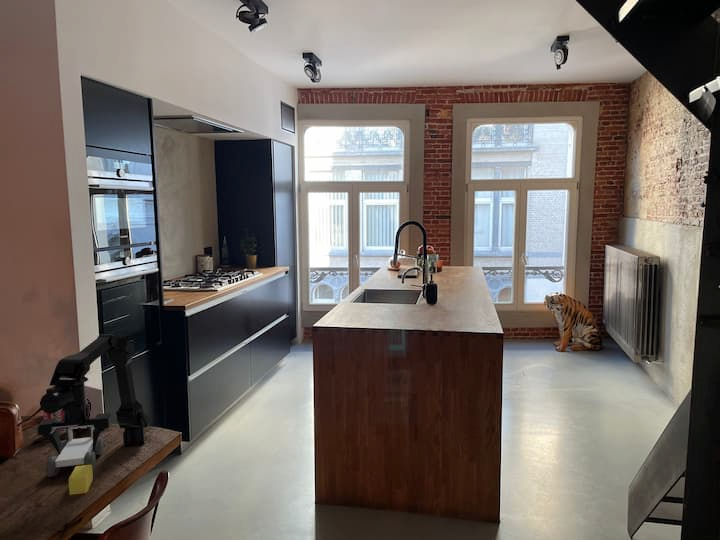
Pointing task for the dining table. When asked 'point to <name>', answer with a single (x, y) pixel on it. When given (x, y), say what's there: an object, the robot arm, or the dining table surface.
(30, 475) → the dining table surface
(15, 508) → the dining table surface
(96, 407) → the greeting card
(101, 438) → the trolley
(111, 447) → the dining table surface
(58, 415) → the soda can
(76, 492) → the block
